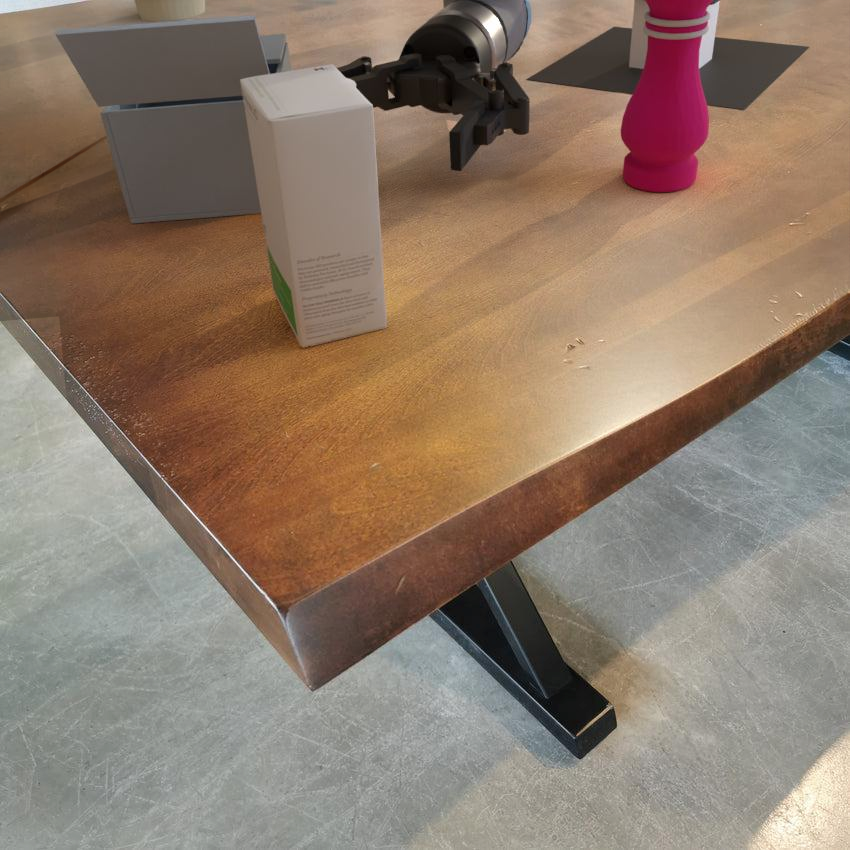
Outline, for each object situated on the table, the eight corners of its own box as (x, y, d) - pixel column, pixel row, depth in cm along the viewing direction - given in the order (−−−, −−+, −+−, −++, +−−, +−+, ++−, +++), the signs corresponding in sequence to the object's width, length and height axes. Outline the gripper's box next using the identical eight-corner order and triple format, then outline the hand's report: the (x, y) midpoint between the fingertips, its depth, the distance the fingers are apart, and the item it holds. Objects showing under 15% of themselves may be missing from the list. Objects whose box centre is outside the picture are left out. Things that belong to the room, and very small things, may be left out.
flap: (274, 89, 70) (274, 93, 70) (98, 102, 70) (98, 107, 70) (254, 14, 62) (254, 19, 62) (55, 29, 62) (55, 34, 62)
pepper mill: (665, 202, 73) (697, -69, 61) (599, 179, 78) (617, -79, 66) (718, 177, 77) (759, -85, 65) (652, 156, 81) (679, -93, 69)
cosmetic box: (273, 295, 65) (233, 76, 55) (359, 276, 66) (334, 60, 57) (301, 352, 58) (262, 117, 49) (396, 329, 60) (375, 97, 50)
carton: (293, 210, 76) (274, 89, 70) (131, 224, 76) (97, 102, 70) (301, 140, 90) (286, 33, 83) (163, 151, 89) (137, 44, 83)
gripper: (590, 108, 77) (534, 209, 62) (329, 94, 84) (220, 181, 69) (596, 16, 73) (537, 100, 57) (319, 9, 80) (199, 83, 64)
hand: (363, 145), depth 63 cm, fingers open, 13 cm apart
